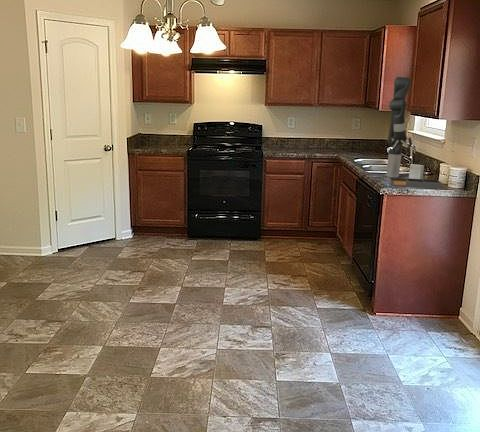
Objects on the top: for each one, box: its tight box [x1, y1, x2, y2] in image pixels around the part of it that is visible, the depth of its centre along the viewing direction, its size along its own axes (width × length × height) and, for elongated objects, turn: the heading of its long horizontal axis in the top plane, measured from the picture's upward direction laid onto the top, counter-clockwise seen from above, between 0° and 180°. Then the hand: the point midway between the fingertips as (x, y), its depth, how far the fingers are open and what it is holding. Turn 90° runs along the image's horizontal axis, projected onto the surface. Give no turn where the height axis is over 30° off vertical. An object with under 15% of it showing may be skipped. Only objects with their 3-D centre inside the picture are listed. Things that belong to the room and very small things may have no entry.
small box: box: [408, 163, 425, 179], centre depth 364 cm, size 8×6×13 cm
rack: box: [387, 177, 443, 190], centre depth 354 cm, size 12×34×4 cm, turn 83°
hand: (401, 152), depth 350 cm, fingers open, 8 cm apart
